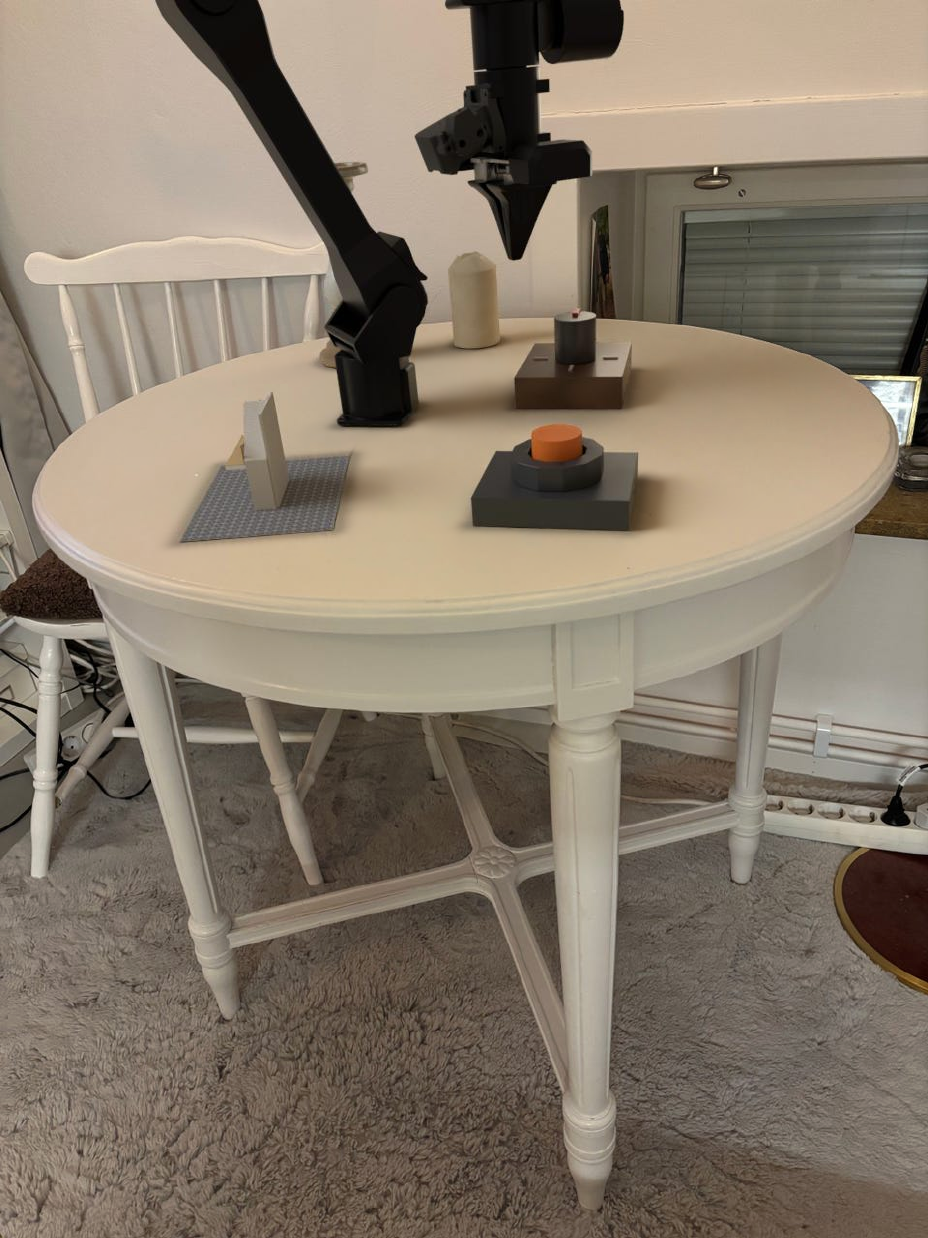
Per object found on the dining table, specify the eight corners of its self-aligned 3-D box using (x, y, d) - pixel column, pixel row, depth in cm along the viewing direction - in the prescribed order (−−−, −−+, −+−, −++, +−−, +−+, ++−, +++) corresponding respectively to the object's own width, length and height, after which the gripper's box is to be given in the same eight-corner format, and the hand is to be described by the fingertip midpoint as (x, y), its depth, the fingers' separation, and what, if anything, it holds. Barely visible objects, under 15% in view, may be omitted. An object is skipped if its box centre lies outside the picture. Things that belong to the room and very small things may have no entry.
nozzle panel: (515, 408, 86) (513, 375, 84) (535, 371, 96) (534, 341, 94) (621, 408, 83) (622, 374, 82) (631, 370, 93) (631, 339, 92)
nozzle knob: (593, 363, 86) (593, 317, 84) (551, 364, 87) (550, 318, 85) (598, 352, 89) (598, 307, 87) (558, 352, 90) (557, 308, 88)
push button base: (472, 525, 64) (468, 473, 62) (497, 476, 72) (494, 428, 70) (628, 530, 62) (630, 476, 60) (637, 479, 69) (638, 429, 67)
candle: (500, 347, 105) (495, 256, 100) (453, 350, 105) (446, 259, 100) (499, 335, 110) (494, 247, 105) (454, 338, 110) (447, 251, 105)
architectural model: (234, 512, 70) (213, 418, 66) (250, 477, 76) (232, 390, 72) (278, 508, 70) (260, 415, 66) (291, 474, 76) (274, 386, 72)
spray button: (528, 464, 64) (527, 441, 63) (536, 446, 67) (535, 423, 66) (579, 465, 63) (578, 441, 62) (585, 446, 66) (584, 423, 65)
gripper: (380, 80, 83) (400, 260, 91) (470, 72, 68) (484, 287, 76) (488, 70, 86) (498, 244, 95) (595, 60, 72) (596, 267, 80)
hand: (515, 259), depth 86 cm, fingers closed
